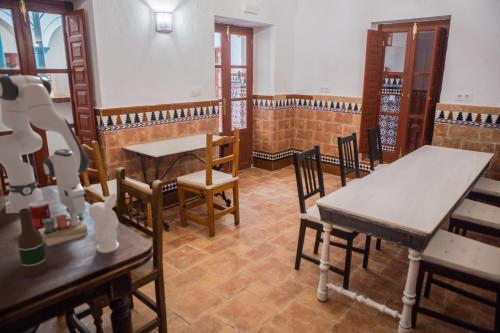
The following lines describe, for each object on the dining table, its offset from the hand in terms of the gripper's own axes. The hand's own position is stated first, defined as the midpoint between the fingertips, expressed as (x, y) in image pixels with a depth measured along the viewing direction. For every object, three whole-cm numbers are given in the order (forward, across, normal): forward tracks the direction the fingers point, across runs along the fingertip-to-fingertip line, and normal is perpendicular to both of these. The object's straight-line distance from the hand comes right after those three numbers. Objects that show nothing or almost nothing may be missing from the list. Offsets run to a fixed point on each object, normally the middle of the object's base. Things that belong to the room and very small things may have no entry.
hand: (74, 217), depth 158 cm
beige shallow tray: (+7, 0, -5) cm, 9 cm away
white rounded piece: (+6, 0, 0) cm, 6 cm away
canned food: (+7, -19, -8) cm, 22 cm away
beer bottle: (+8, +22, -22) cm, 32 cm away
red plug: (+4, 0, -5) cm, 6 cm away
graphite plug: (+4, 0, -10) cm, 11 cm away
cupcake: (+7, -17, +7) cm, 20 cm away
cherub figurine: (+8, +22, +4) cm, 23 cm away
